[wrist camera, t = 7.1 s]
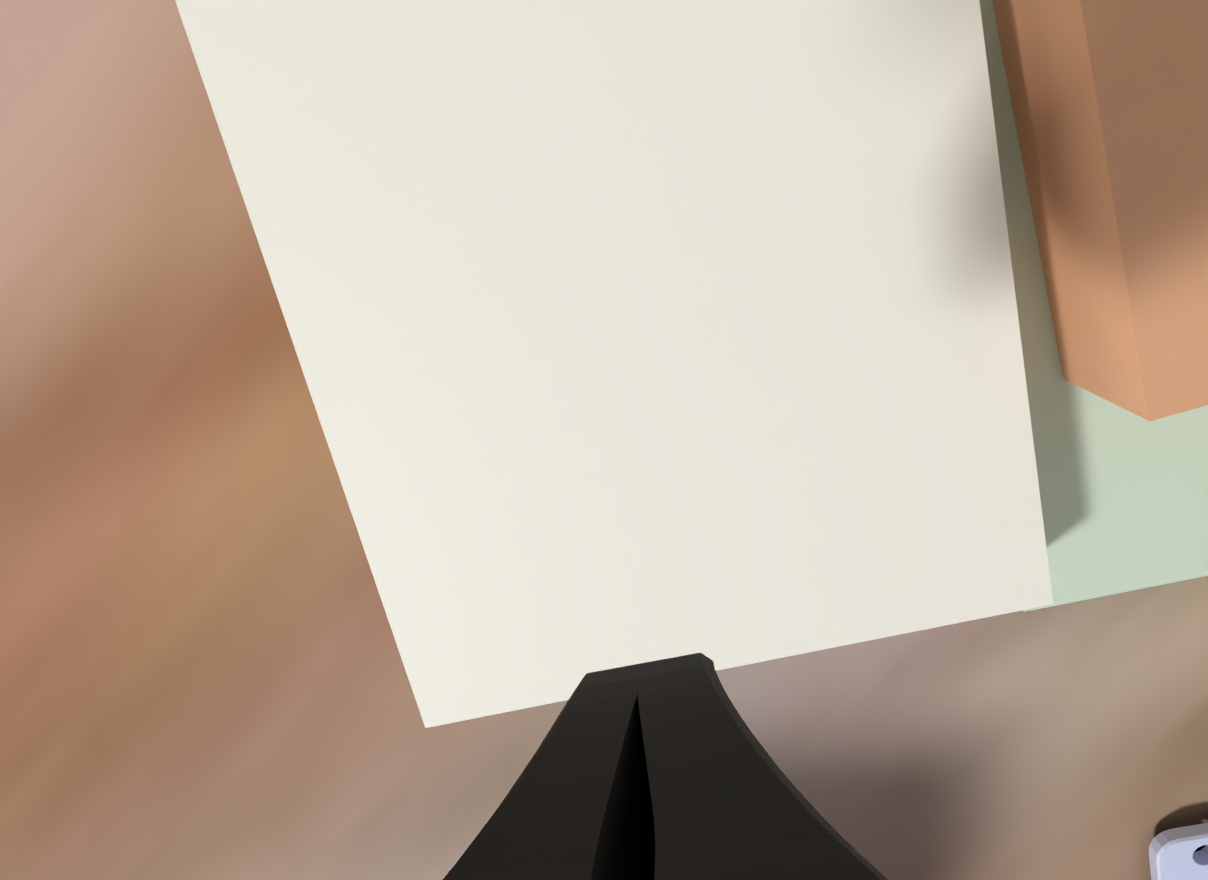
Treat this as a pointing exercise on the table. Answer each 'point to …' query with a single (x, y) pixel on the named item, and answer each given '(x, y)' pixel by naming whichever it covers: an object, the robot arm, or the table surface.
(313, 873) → the table surface
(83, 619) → the table surface
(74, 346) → the table surface
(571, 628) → the board
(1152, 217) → the brick
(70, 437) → the table surface
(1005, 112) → the mat
